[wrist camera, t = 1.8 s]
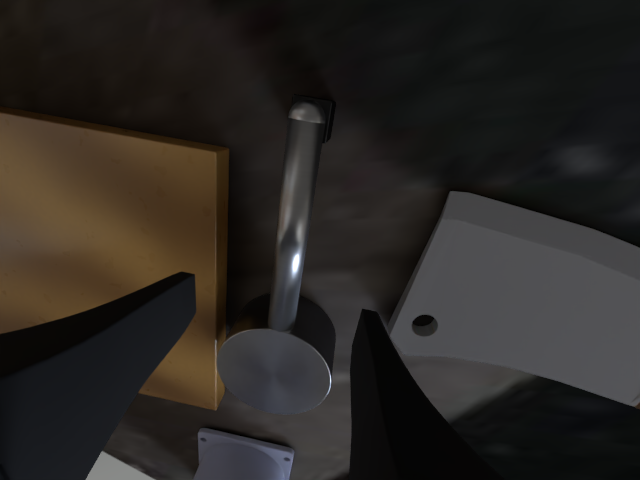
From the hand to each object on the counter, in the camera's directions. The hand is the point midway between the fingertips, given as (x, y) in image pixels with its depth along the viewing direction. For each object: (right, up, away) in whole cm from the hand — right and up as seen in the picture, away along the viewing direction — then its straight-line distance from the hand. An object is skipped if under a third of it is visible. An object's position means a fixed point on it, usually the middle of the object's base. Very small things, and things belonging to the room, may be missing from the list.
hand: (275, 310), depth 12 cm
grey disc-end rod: (+1, +2, +4) cm, 5 cm away
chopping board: (-14, +1, +6) cm, 15 cm away
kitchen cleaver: (+18, -2, +4) cm, 19 cm away
